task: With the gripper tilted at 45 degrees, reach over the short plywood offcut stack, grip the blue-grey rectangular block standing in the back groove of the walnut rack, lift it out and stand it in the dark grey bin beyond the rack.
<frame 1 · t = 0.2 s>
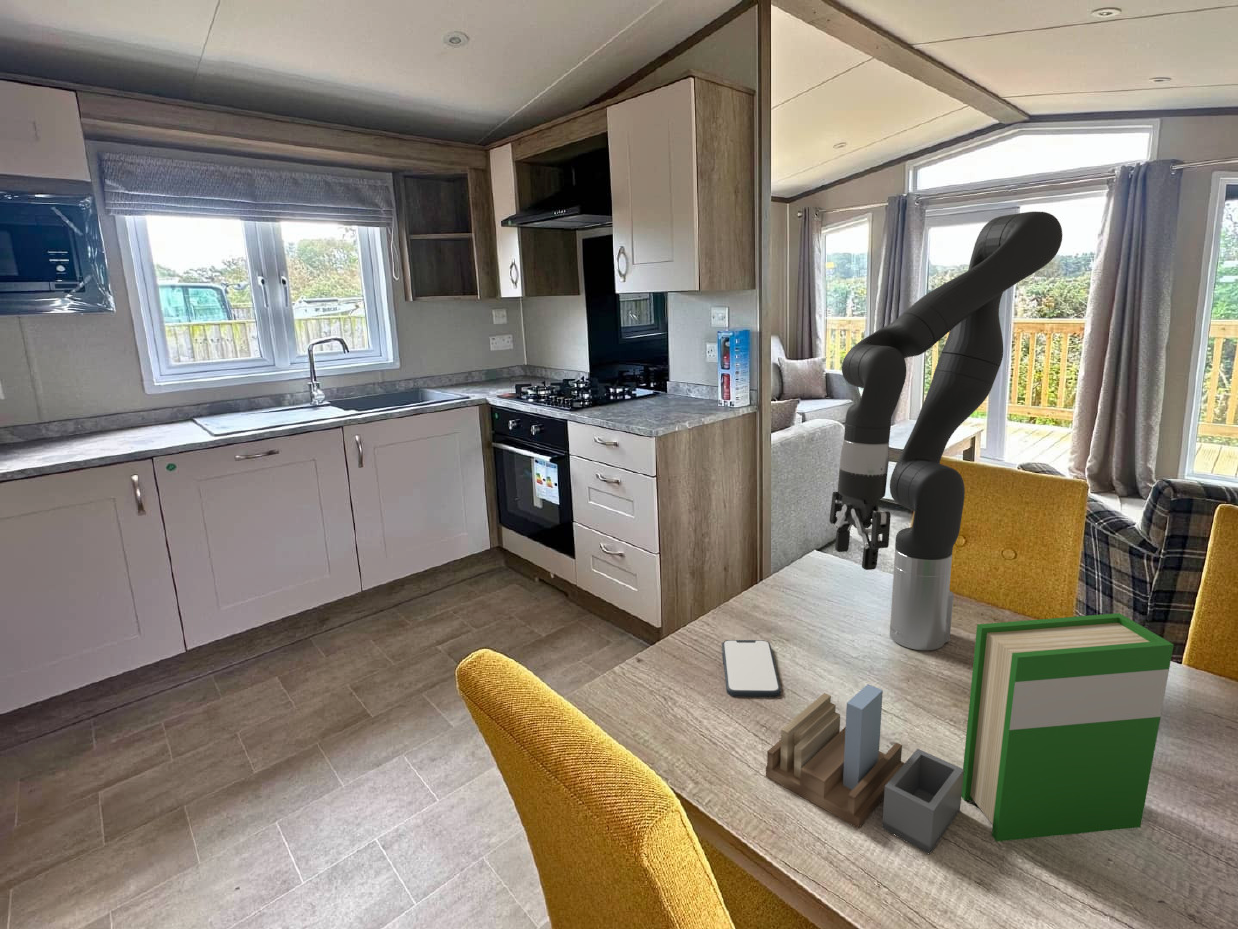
hand: (854, 559, 114), 18 cm above the table, tool pointing down, fingers open, 8 cm apart
offcut stack: (812, 753, 91), point 1 cm above the table, touching rack
notched smartphone: (749, 672, 115), on the table
rack: (835, 774, 89), on the table
blue-grey rectangular block: (860, 777, 87), point 1 cm above the table, touching rack
hardback book: (1046, 812, 82), on the table
bin: (921, 819, 81), on the table
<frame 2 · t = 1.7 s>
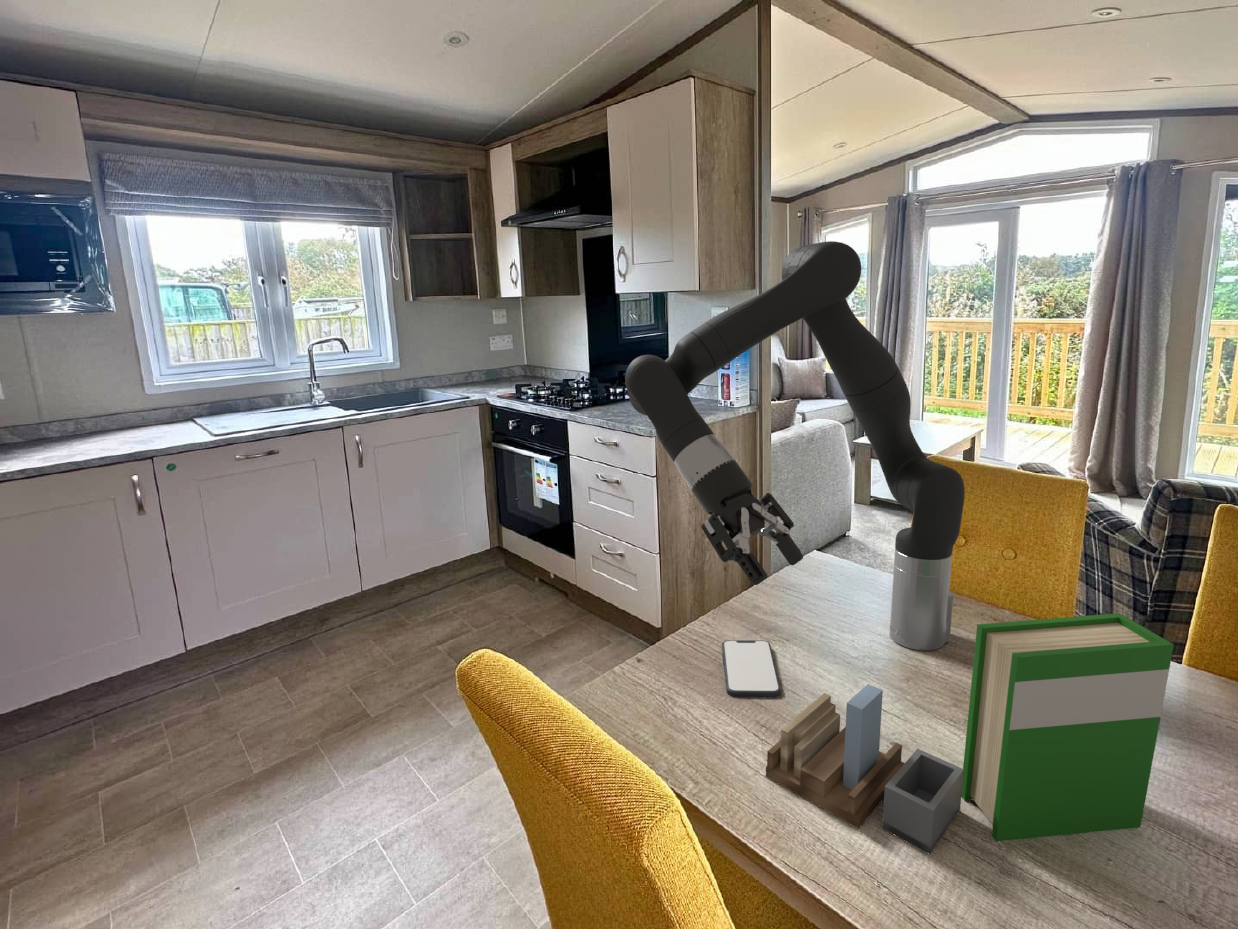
hand: (780, 571, 89), 27 cm above the table, tool tilted 45°, fingers open, 8 cm apart
nothing on the table moved.
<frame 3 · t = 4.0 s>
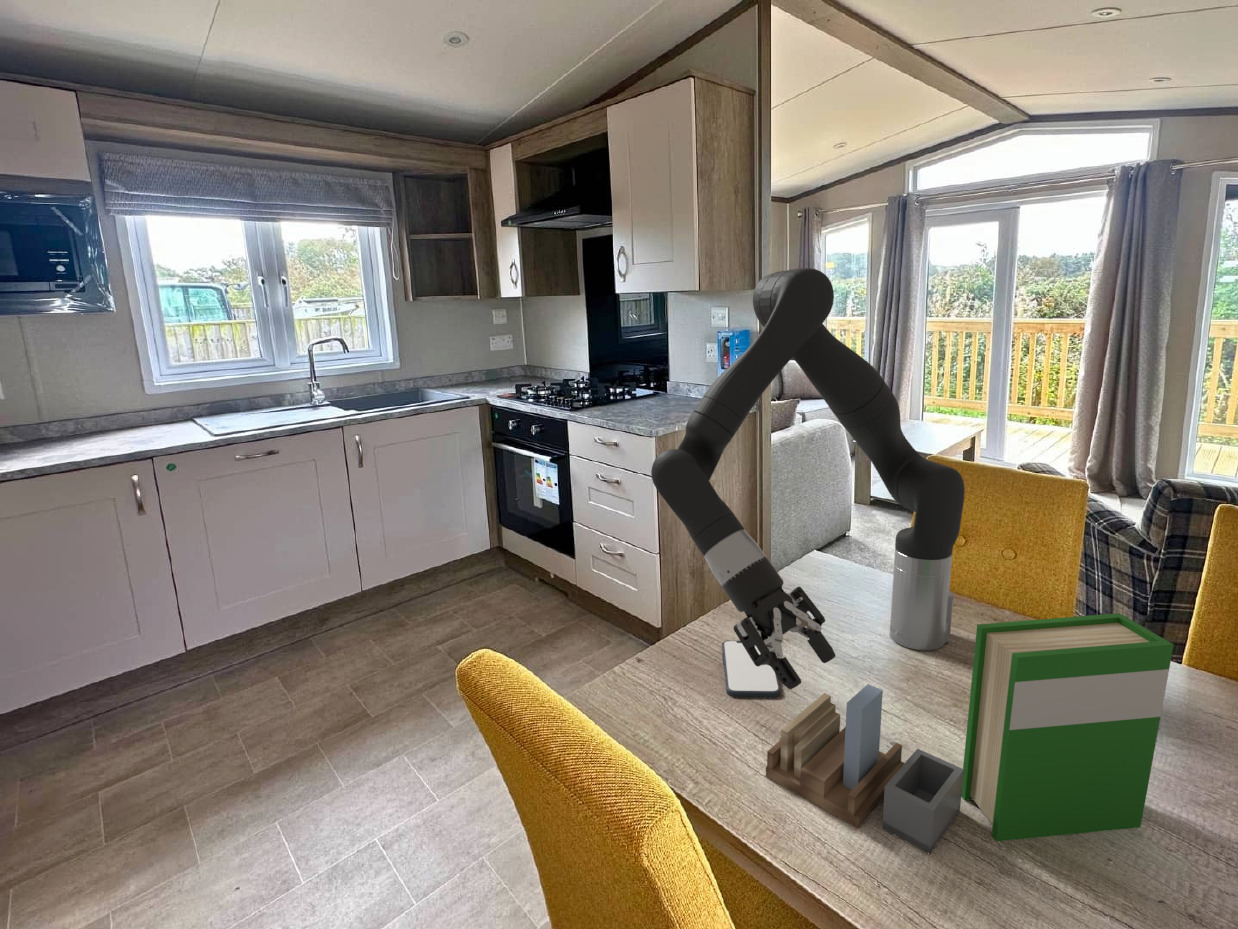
hand: (813, 672, 88), 14 cm above the table, tool tilted 45°, fingers open, 8 cm apart
nothing on the table moved.
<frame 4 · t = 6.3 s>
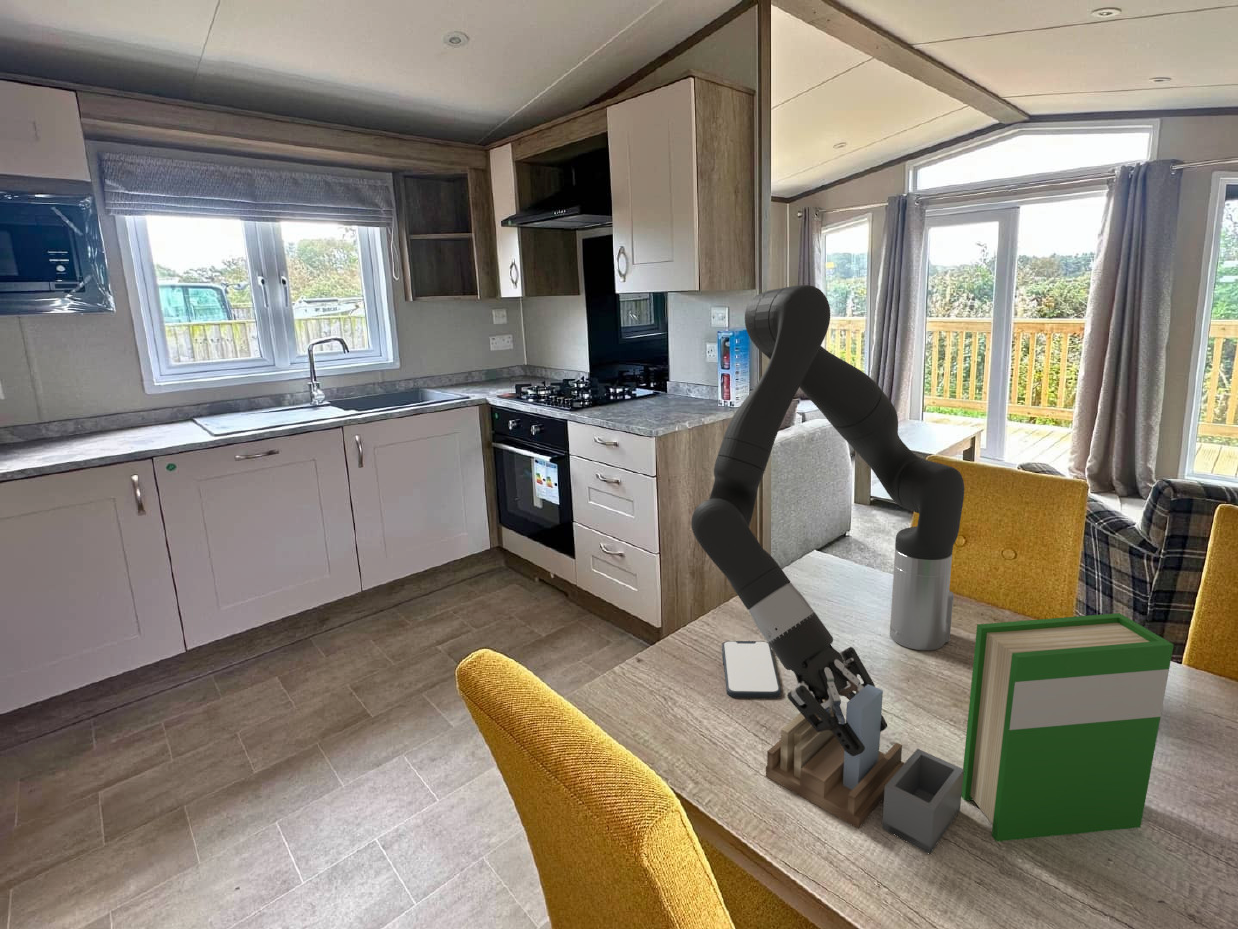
hand: (870, 741, 84), 8 cm above the table, tool tilted 45°, fingers closed on blue-grey rectangular block, 5 cm apart
blue-grey rectangular block: (860, 777, 87), point 2 cm above the table, touching gripper, rack
everything else where it was.
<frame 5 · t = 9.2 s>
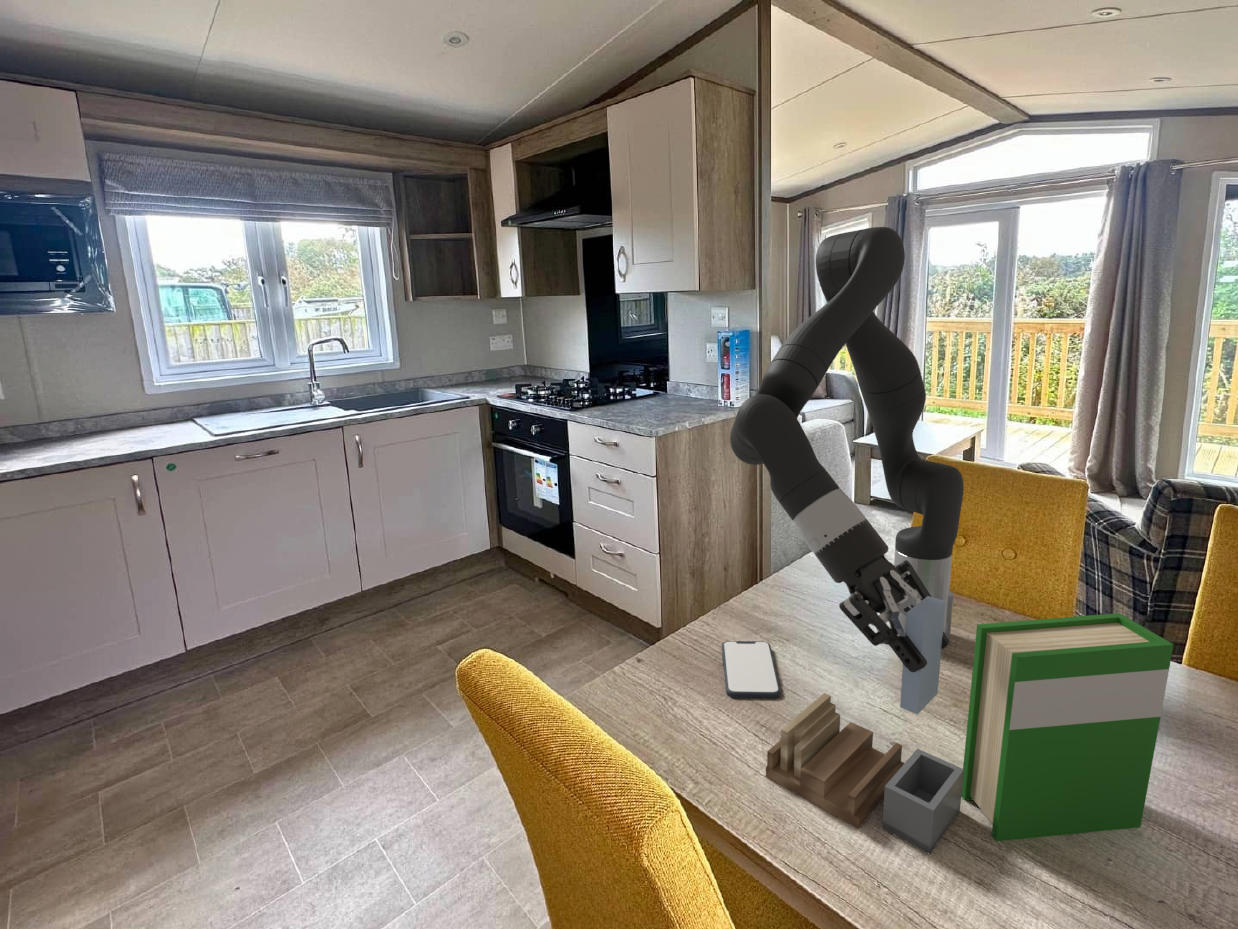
hand: (931, 657, 76), 22 cm above the table, tool tilted 45°, fingers closed on blue-grey rectangular block, 5 cm apart
blue-grey rectangular block: (919, 700, 78), point 16 cm above the table, touching gripper
everything else where it was.
when the fingers open (8 cm above the table, at t = 12.4 s): blue-grey rectangular block drops 1 cm, resting on bin.
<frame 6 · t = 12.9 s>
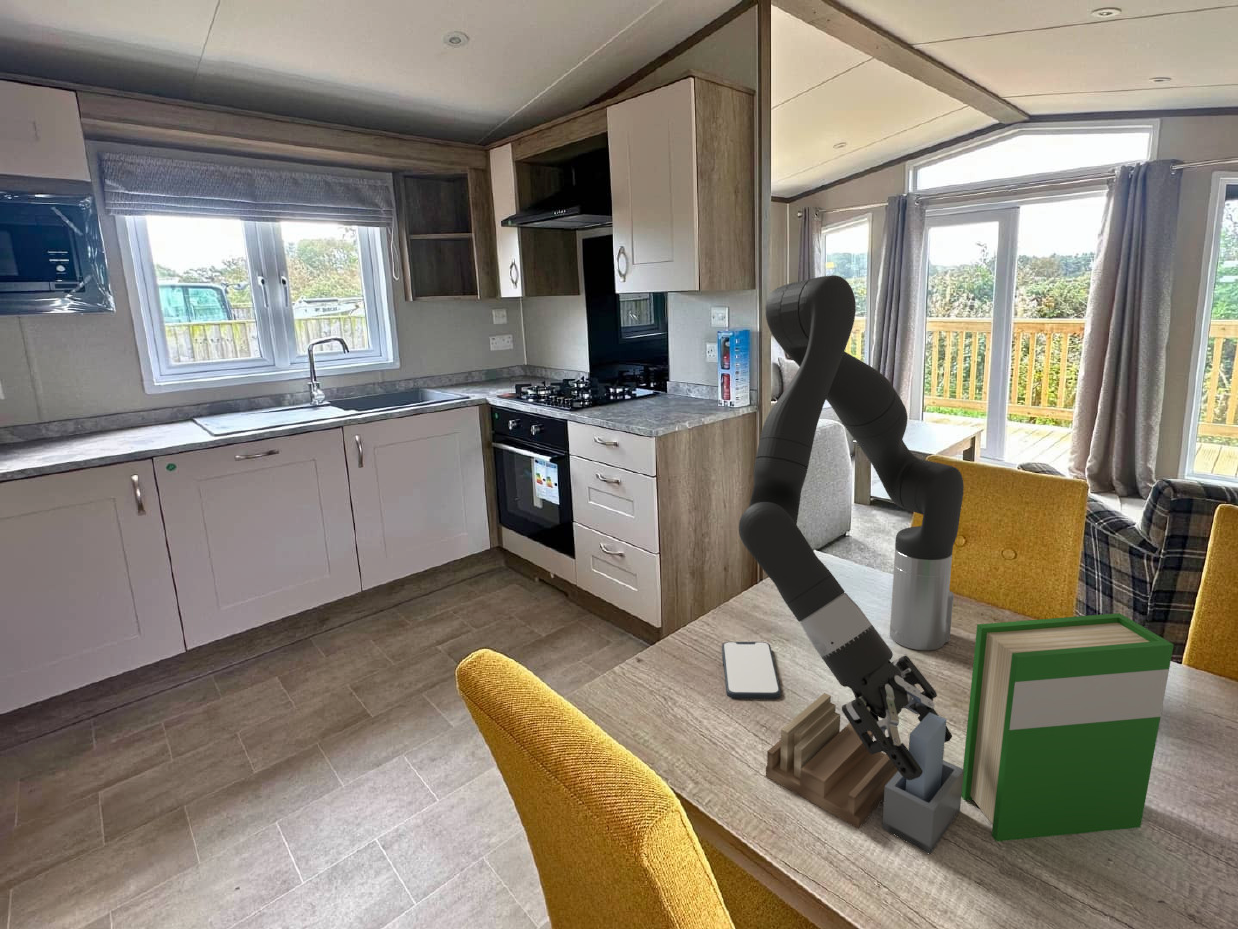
hand: (931, 758, 79), 9 cm above the table, tool tilted 45°, fingers open, 8 cm apart
blue-grey rectangular block: (921, 812, 81), point 1 cm above the table, touching bin
everything else where it was.
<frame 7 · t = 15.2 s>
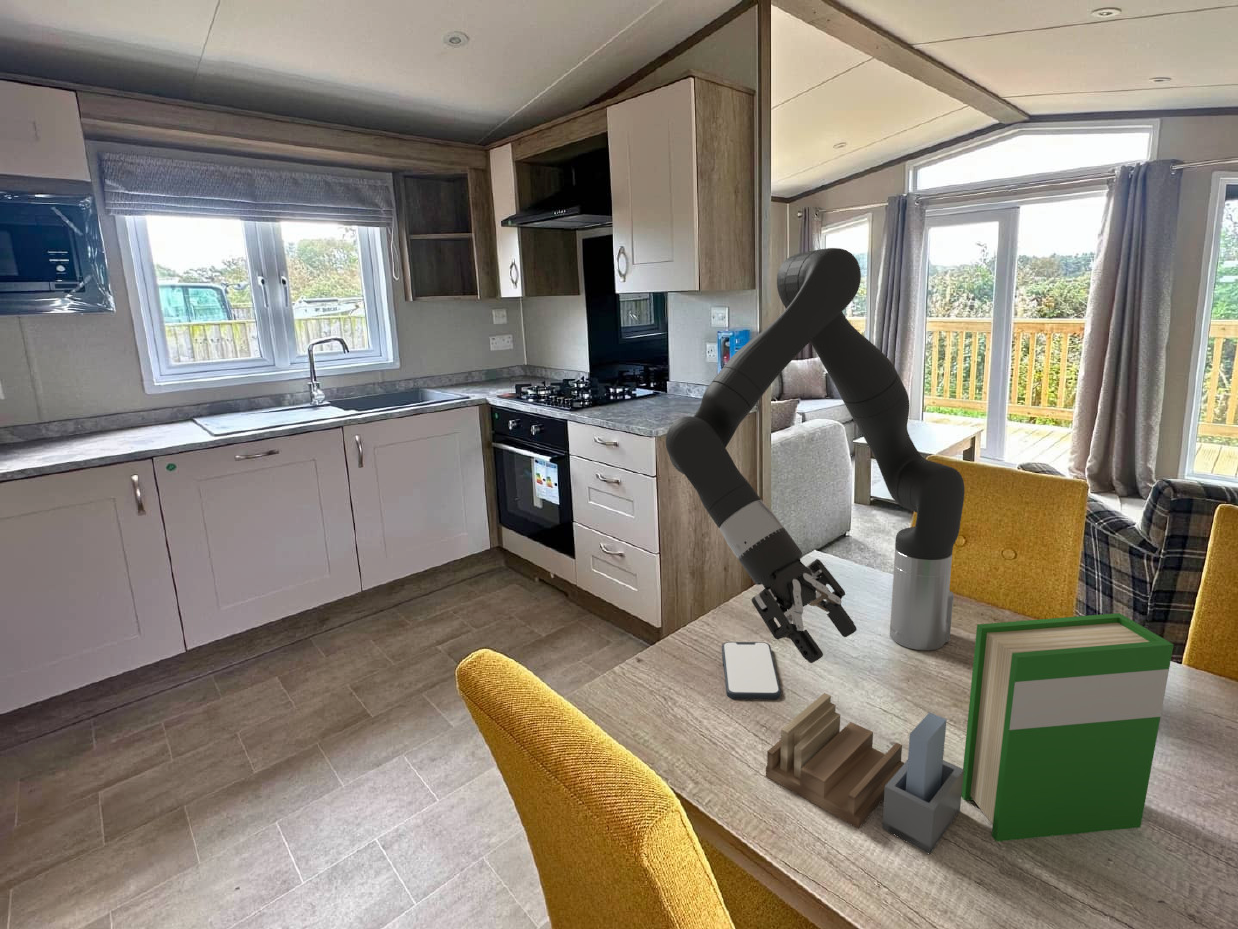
hand: (834, 646, 85), 19 cm above the table, tool tilted 45°, fingers open, 8 cm apart
nothing on the table moved.
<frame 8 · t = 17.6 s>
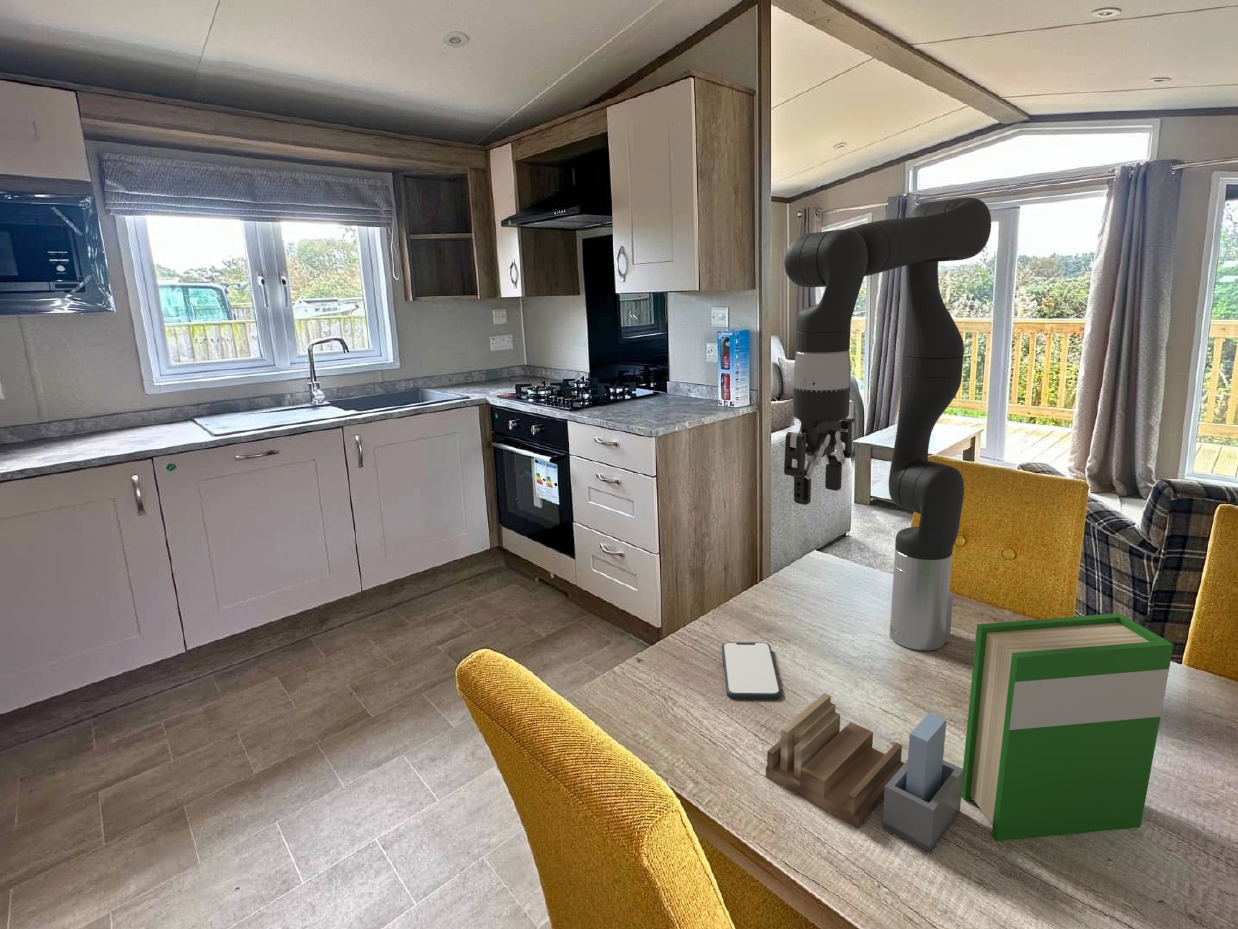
hand: (818, 496, 96), 34 cm above the table, tool pointing down, fingers open, 8 cm apart
nothing on the table moved.
at the end: blue-grey rectangular block 0.1 cm off-centre on the bin, point 1.0 cm above the bin's base; blue-grey rectangular block tilted 0°; offcut stack moved 0.0 cm from its start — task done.
